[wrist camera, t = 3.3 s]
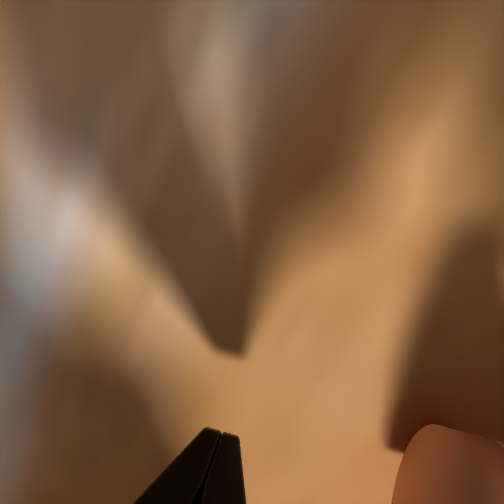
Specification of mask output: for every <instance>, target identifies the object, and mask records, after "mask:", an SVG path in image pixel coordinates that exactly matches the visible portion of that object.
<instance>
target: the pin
mask: <svg viewBox="0 0 504 504" xmlns="http://www.w3.org/2000/svg"><path fill="white" fill-rule="evenodd" d="M392 504H504V448H503V447H502V446H501V445H500V444H498V443H496V442H495V441H493V440H491V439H488V438H485V437H482V436H478V435H474V434H470V433H467V432H463V431H459V430H455V429H452V428H448V427H444V426H440V425H436V424H430V425H427V426H424V427H423V428H421V429H420V430H419V431H418V432H417V433H416V434H415V435H414V437H413V438H412V439H411V441H410V443H409V444H408V446H407V448H406V451H405V453H404V455H403V458H402V461H401V463H400V467H399V470H398V474H397V478H396V482H395V486H394V492H393V498H392Z"/></svg>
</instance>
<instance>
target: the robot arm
mask: <svg viewBox="0 0 504 504" xmlns="http://www.w3.org/2000/svg"><path fill="white" fill-rule="evenodd" d="M133 504H246V497H245V487H244V477H243V468H242V458H241V449H240V440H239V437H238V436H237V435H233V434H230V433H226V432H224V433H222V435H221V431H219V430H216V429H212V428H209V427H206V428H204V429H203V430H202V431H201V432H200V433H199V434H198V435H197V436H196V437H195V438H194V439H193V440H192V441H191V442H190V443H189V444H188V445H187V447H186V448H185V449H184V450H183V451H182V452H181V453H180V454H179V455H178V456H177V457H176V458H175V459H174V460H173V461H172V462H171V464H170V465H169V466H168V467H167V468H166V469H165V470H164V471H163V472H162V473H161V474H160V475H159V476H158V477H157V478H156V479H155V481H154V482H153V483H152V484H151V485H150V486H149V487H148V488H147V489H146V490H145V491H144V492H143V493H142V494H141V495H140V496H139V498H138V499H137V500H136V501H135V502H134V503H133Z"/></svg>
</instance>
